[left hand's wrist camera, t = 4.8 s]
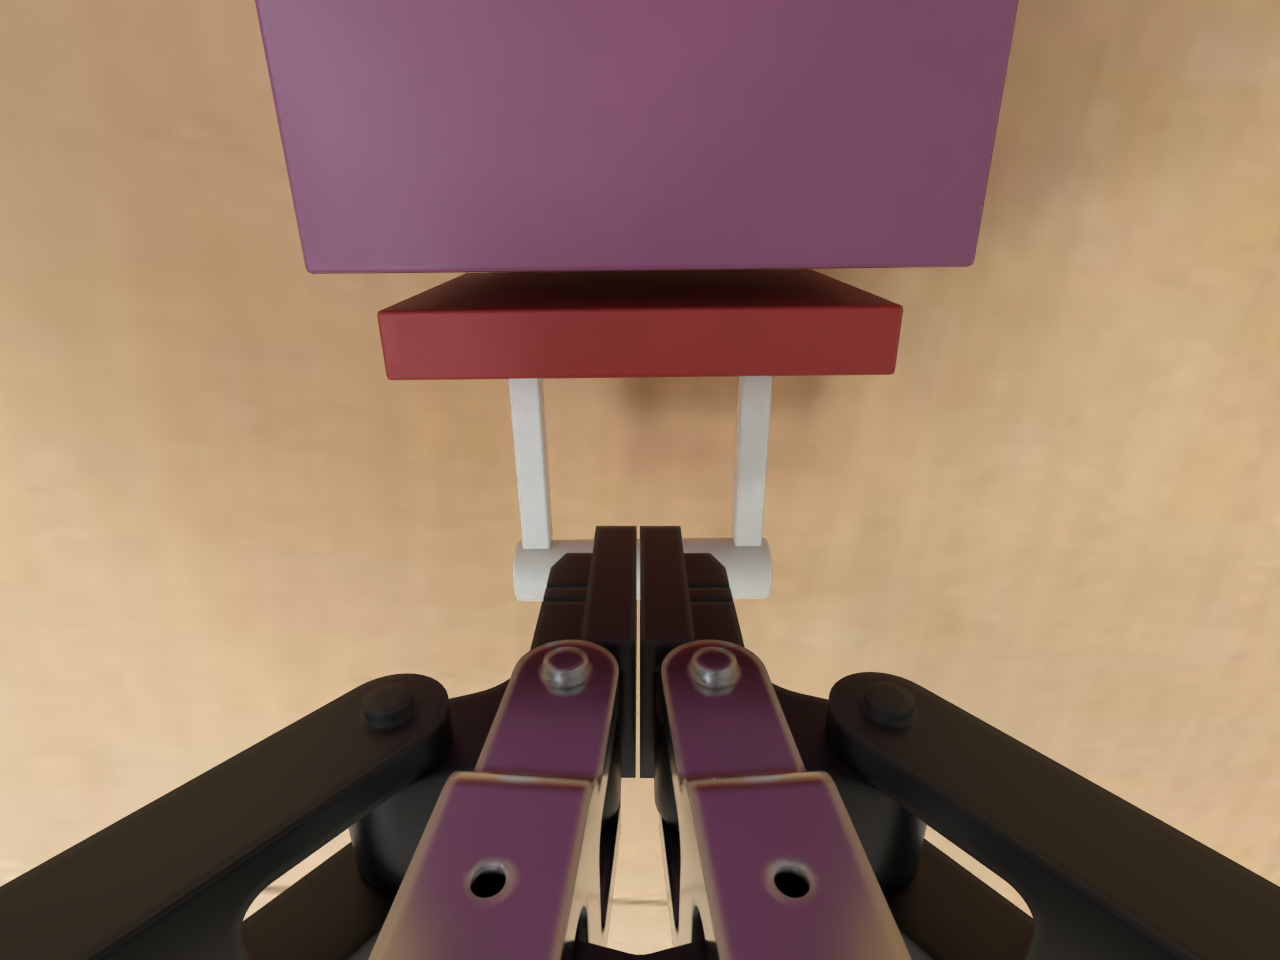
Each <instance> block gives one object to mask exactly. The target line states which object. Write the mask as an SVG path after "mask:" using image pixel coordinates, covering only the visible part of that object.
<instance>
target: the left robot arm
mask: <svg viewBox="0 0 1280 960" xmlns="http://www.w3.org/2000/svg"><path fill="white" fill-rule="evenodd" d="M636 649H637V532H636V526H596V531H595V538H594V546H593V553H566V554H565V555H564V556H562V557H561V558H560V559H559V560H558V561H557V562H556V563H555V564H554V565H553V566H552V567H551V569H550V573H549V577H548V581H547V588H546V589H545V593H544V597H543V602H542V605H541V609H540V613H539V617H538V621H537V625H536V629H535V633H534V637H533V641H532V645H531V649H530V651H529V652H527V653H526V654H525V655H524V656H523V657H522V658H521V659H520V660H519V661H518V662H517V664H516V666H515V668H514V670H513V673H512V675H511V678H510V679H509V680H507V681H505V682H504V683H502V684H500V685H498V686H496V687H493V688H491V689H488V690H485V691H481V692H478V693H474V694H469V695H465V696H460V697H456V698H451V699H448V694H447V692H446V689H445V688H444V687H443V685H442V684H440V683H439V682H438V681H436V680H434V679H433V678H430V677H427V676H424V675H419V674H395V675H389V676H385V677H381V678H377V679H375V680H372V681H369V682H367V683H365V684H363V685H361V686H359V687H357V688H355V689H353V690H351V691H350V692H348V693H346V694H344V695H343V696H341V697H339V698H337V699H335V700H334V701H332V702H330V703H328V704H326V705H325V706H323V707H321V708H319V709H317V710H316V711H314V712H312V713H310V714H309V715H307V716H305V717H303V718H301V719H300V720H298V721H296V722H294V723H292V724H291V725H289V726H287V727H285V728H284V729H282V730H280V731H278V732H276V733H275V734H273V735H271V736H269V737H267V738H266V739H264V740H262V741H260V742H258V743H257V744H255V745H253V746H251V747H250V748H248V749H246V750H244V751H242V752H241V753H239V754H237V755H235V756H233V757H232V758H230V759H228V760H226V761H225V762H223V763H221V764H219V765H217V766H216V767H214V768H212V769H210V770H208V771H207V772H205V773H203V774H201V775H199V776H198V777H196V778H194V779H192V780H191V781H189V782H187V783H185V784H183V785H182V786H180V787H178V788H176V789H174V790H173V791H171V792H169V793H167V794H166V795H164V796H162V797H160V798H158V799H157V800H155V801H153V802H151V803H149V804H148V805H146V806H144V807H142V808H140V809H139V810H137V811H135V812H133V813H132V814H130V815H128V816H126V817H124V818H123V819H121V820H119V821H117V822H115V823H114V824H112V825H110V826H108V827H107V828H105V829H103V830H101V831H99V832H98V833H96V834H94V835H92V836H90V837H89V838H87V839H85V840H83V841H82V842H80V843H78V844H76V845H74V846H73V847H71V848H69V849H67V850H65V851H64V852H62V853H60V854H58V855H56V856H55V857H53V858H51V859H49V860H48V861H46V862H44V863H42V864H40V865H39V866H37V867H35V868H33V869H31V870H30V871H28V872H26V873H24V874H23V875H21V876H19V877H17V878H15V879H14V880H12V881H10V882H8V883H6V884H5V885H3V886H1V887H0V960H1280V887H1279V886H1277V885H1275V884H1274V883H1272V882H1270V881H1268V880H1266V879H1265V878H1263V877H1261V876H1259V875H1257V874H1256V873H1254V872H1252V871H1250V870H1249V869H1247V868H1245V867H1243V866H1241V865H1240V864H1238V863H1236V862H1234V861H1232V860H1231V859H1229V858H1227V857H1225V856H1223V855H1222V854H1220V853H1218V852H1216V851H1215V850H1213V849H1211V848H1209V847H1207V846H1206V845H1204V844H1202V843H1200V842H1198V841H1197V840H1195V839H1193V838H1191V837H1190V836H1188V835H1186V834H1184V833H1182V832H1181V831H1179V830H1177V829H1175V828H1173V827H1172V826H1170V825H1168V824H1166V823H1164V822H1163V821H1161V820H1159V819H1157V818H1156V817H1154V816H1152V815H1150V814H1148V813H1147V812H1145V811H1143V810H1141V809H1139V808H1138V807H1136V806H1134V805H1132V804H1131V803H1129V802H1127V801H1125V800H1123V799H1122V798H1120V797H1118V796H1116V795H1114V794H1113V793H1111V792H1109V791H1107V790H1106V789H1104V788H1102V787H1100V786H1098V785H1097V784H1095V783H1093V782H1091V781H1089V780H1088V779H1086V778H1084V777H1082V776H1080V775H1079V774H1077V773H1075V772H1073V771H1072V770H1070V769H1068V768H1066V767H1064V766H1063V765H1061V764H1059V763H1057V762H1055V761H1054V760H1052V759H1050V758H1048V757H1047V756H1045V755H1043V754H1041V753H1039V752H1038V751H1036V750H1034V749H1032V748H1030V747H1029V746H1027V745H1025V744H1023V743H1021V742H1020V741H1018V740H1016V739H1014V738H1013V737H1011V736H1009V735H1007V734H1005V733H1004V732H1002V731H1000V730H998V729H996V728H995V727H993V726H991V725H989V724H988V723H986V722H984V721H982V720H980V719H979V718H977V717H975V716H973V715H971V714H970V713H968V712H966V711H964V710H962V709H961V708H959V707H957V706H955V705H954V704H952V703H950V702H948V701H946V700H945V699H943V698H941V697H939V696H937V695H936V694H934V693H932V692H930V691H929V690H927V689H925V688H923V687H921V686H920V685H918V684H916V683H914V682H912V681H909V680H907V679H904V678H901V677H898V676H894V675H891V674H885V673H877V672H862V673H856V674H852V675H849V676H846V677H844V678H842V679H840V680H839V681H838V682H837V683H835V685H834V686H833V687H832V689H831V691H830V694H829V700H827V699H823V698H818V697H814V696H809V695H805V694H800V693H796V692H793V691H789V690H786V689H784V688H781V687H779V686H777V685H775V684H773V683H771V680H770V678H769V675H768V673H767V670H766V668H765V666H764V664H763V662H762V661H761V660H760V659H759V658H758V657H757V656H756V655H755V654H754V653H753V652H751V651H749V650H748V649H746V648H744V643H743V639H742V635H741V631H740V627H739V622H738V618H737V614H736V610H735V606H734V602H733V597H732V593H731V589H730V588H729V580H728V576H727V572H726V568H725V567H724V566H723V565H722V564H721V563H720V562H719V561H718V560H717V559H716V558H715V557H714V556H713V555H712V554H711V553H684V552H683V544H682V536H681V528H680V526H640V778H654V792H655V804H656V807H657V809H658V812H659V832H660V840H661V848H662V857H663V865H664V873H665V882H666V890H667V899H668V907H669V915H670V924H671V932H672V940H673V948H670V949H666V950H662V951H659V952H655V953H651V954H646V955H634V954H629V953H625V952H621V951H618V950H614V949H610V948H607V940H608V932H609V924H610V915H611V907H612V899H613V890H614V882H615V873H616V865H617V857H618V848H619V840H620V832H621V778H635V774H636ZM927 825H928V826H930V827H931V828H933V829H934V830H935V831H937V832H938V833H940V834H941V835H942V836H944V837H945V838H947V839H948V840H949V841H951V842H952V843H954V844H955V845H956V846H958V847H959V848H960V849H962V850H963V851H965V852H966V853H967V854H969V855H970V856H972V857H973V858H974V859H976V860H977V861H979V862H980V863H981V864H983V865H984V866H986V867H987V868H988V869H990V870H991V871H993V872H994V873H995V874H997V875H998V876H1000V877H1001V878H1002V879H1004V880H1005V881H1006V882H1008V883H1009V884H1010V885H1011V886H1012V887H1013V888H1014V889H1015V890H1016V891H1017V892H1018V893H1019V894H1020V895H1021V897H1022V898H1023V899H1024V901H1025V902H1026V904H1027V905H1028V907H1029V909H1030V911H1031V913H1032V916H1033V918H1032V917H1030V916H1029V915H1028V914H1026V913H1025V912H1023V911H1022V910H1021V909H1019V908H1018V907H1017V906H1015V905H1014V904H1013V903H1011V902H1010V901H1008V900H1007V899H1006V898H1004V897H1003V896H1002V895H1000V894H999V893H998V892H996V891H995V890H994V889H992V888H991V887H989V886H988V885H987V884H985V883H984V882H983V881H981V880H980V879H979V878H977V877H976V876H974V875H973V874H972V873H970V872H969V871H968V870H966V869H965V868H964V867H962V866H961V865H960V864H958V863H957V862H955V861H954V860H953V859H951V858H950V857H949V856H947V855H946V854H945V853H943V852H942V851H940V850H939V849H938V848H936V847H935V846H934V845H932V844H931V843H930V842H928V841H927V840H926V839H924V835H925V831H926V826H927ZM347 828H349V832H350V836H351V841H352V842H350V843H349V844H348V845H346V846H345V847H344V848H342V849H341V850H340V851H338V852H337V853H335V854H334V855H333V856H331V857H330V858H329V859H327V860H326V861H325V862H323V863H322V864H320V865H319V866H318V867H316V868H315V869H314V870H312V871H311V872H310V873H308V874H307V875H306V876H304V877H303V878H301V879H300V880H299V881H297V882H296V883H295V884H293V885H292V886H291V887H289V888H288V889H286V890H285V891H284V892H282V893H281V894H280V895H278V896H277V897H276V898H274V899H273V900H272V901H270V902H269V903H267V904H266V905H265V906H263V907H262V908H261V909H259V910H258V911H257V912H255V913H254V914H252V915H251V916H250V917H248V918H247V919H246V920H244V921H243V918H244V916H245V914H246V912H247V910H248V908H249V906H250V905H251V904H252V902H253V901H254V899H255V898H256V897H257V896H258V895H259V894H260V893H261V892H262V891H263V890H264V889H265V888H266V887H267V886H268V885H270V884H271V883H272V882H273V881H275V880H276V879H278V878H279V877H280V876H282V875H283V874H285V873H286V872H287V871H289V870H290V869H292V868H293V867H294V866H296V865H297V864H299V863H300V862H301V861H303V860H304V859H306V858H307V857H308V856H310V855H311V854H313V853H314V852H315V851H317V850H318V849H319V848H321V847H322V846H324V845H325V844H326V843H328V842H329V841H331V840H332V839H333V838H335V837H336V836H338V835H339V834H340V833H342V832H343V831H345V830H346V829H347ZM242 921H243V922H242Z"/></svg>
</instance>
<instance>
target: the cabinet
mask: <svg viewBox="0 0 1280 960" xmlns="http://www.w3.org/2000/svg"><path fill="white" fill-rule="evenodd" d="M255 2H256V8H257V13H258V18H259V24H260V29H261V34H262V39H263V45H264V50H265V55H266V60H267V66H268V71H269V76H270V82H271V87H272V92H273V97H274V103H275V108H276V113H277V118H278V124H279V129H280V134H281V139H282V145H283V150H284V155H285V161H286V166H287V171H288V176H289V182H290V187H291V192H292V197H293V203H294V208H295V213H296V219H297V224H298V229H299V234H300V240H301V245H302V250H303V255H304V261H305V266H306V269H307V271H308V272H310V273H312V274H342V273H435V272H527V271H620V270H712V269H805V268H897V267H968V266H970V265H972V264H973V262H974V258H975V252H976V246H977V240H978V234H979V228H980V223H981V217H982V211H983V205H984V199H985V193H986V187H987V181H988V176H989V170H990V164H991V158H992V152H993V146H994V140H995V134H996V129H997V123H998V117H999V111H1000V105H1001V99H1002V93H1003V87H1004V82H1005V76H1006V70H1007V64H1008V58H1009V52H1010V46H1011V40H1012V35H1013V29H1014V23H1015V17H1016V11H1017V5H1018V0H255Z"/></svg>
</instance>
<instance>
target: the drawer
mask: <svg viewBox="0 0 1280 960" xmlns="http://www.w3.org/2000/svg"><path fill="white" fill-rule="evenodd" d="M902 313H903V307H902V306H901V305H899V304H896V303H893V302H891V301H888V300H886V299H883V298H881V297H878V296H876V295H873V294H871V293H868V292H866V291H863V290H861V289H858V288H856V287H853V286H851V285H848V284H846V283H843V282H841V281H838V280H836V279H833V278H831V277H828V276H826V275H823V274H821V273H818V272H816V271H813V270H811V269H799V270H706V271H614V272H522V273H466V274H464V275H461V276H459V277H457V278H455V279H452V280H450V281H448V282H445V283H443V284H441V285H438V286H436V287H434V288H432V289H429V290H427V291H425V292H422V293H420V294H418V295H415V296H413V297H411V298H409V299H406V300H404V301H402V302H399V303H397V304H395V305H392V306H390V307H388V308H385V309H383V310H381V311H379V312H378V314H377V316H378V323H379V329H380V336H381V342H382V349H383V355H384V362H385V368H386V374H387V378H388V379H390V380H443V379H508V382H509V394H510V405H511V417H512V429H513V440H514V452H515V464H516V475H517V487H518V499H519V510H520V522H521V534H522V540H521V541H519V542H518V543H517V545H516V548H515V552H514V560H513V585H514V592H515V596H516V598H517V600H518V601H543V597H544V593H545V589H546V588H547V581H548V577H549V573H550V569H551V567H552V566H553V565H554V564H555V563H556V562H557V561H558V560H559V559H560V558H561V557H562V556H564V555H565V554H566V553H593V546H594V540H552V537H553V532H552V517H551V502H550V487H549V471H548V456H547V441H546V426H545V411H544V396H543V381H542V378H624V377H714V376H739V382H738V403H737V425H736V446H735V468H734V489H733V510H732V532H731V534H732V538H686V539H682V544H683V552H684V553H711V554H712V555H713V556H714V557H715V558H716V559H717V560H718V561H719V562H720V563H721V564H722V565H723V566H724V567H725V568H726V572H727V576H728V580H729V588H730V589H731V593H732V597H733V599H765V598H767V597H768V596H769V594H770V591H771V585H772V560H771V552H770V547H769V544H768V542H767V540H766V539H765V538H762V530H763V515H764V500H765V485H766V470H767V455H768V439H769V424H770V409H771V394H772V379H773V376H805V375H890V374H893V373H894V371H895V365H896V358H897V350H898V343H899V335H900V328H901V321H902ZM637 600H640V539H637Z"/></svg>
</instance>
